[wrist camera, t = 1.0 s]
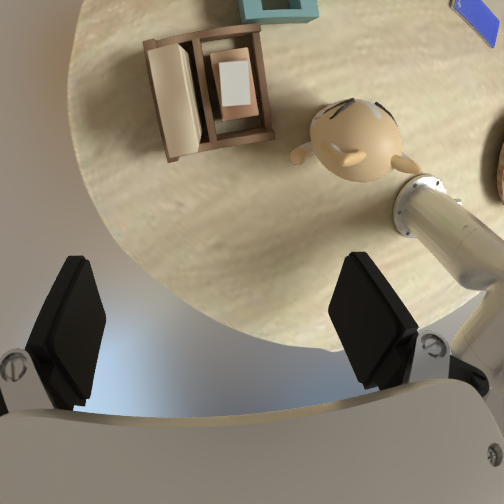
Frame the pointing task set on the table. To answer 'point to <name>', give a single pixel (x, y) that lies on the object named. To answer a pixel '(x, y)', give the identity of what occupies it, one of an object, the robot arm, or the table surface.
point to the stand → (278, 12)
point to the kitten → (356, 142)
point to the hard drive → (478, 18)
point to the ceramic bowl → (501, 175)
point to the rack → (196, 39)
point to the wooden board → (176, 98)
